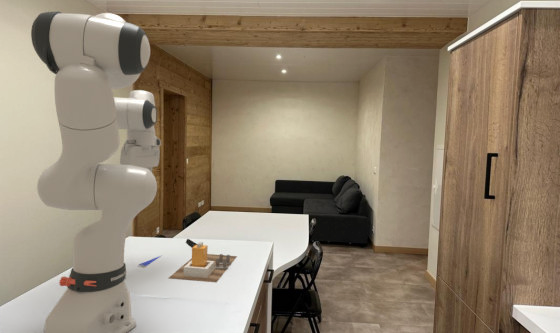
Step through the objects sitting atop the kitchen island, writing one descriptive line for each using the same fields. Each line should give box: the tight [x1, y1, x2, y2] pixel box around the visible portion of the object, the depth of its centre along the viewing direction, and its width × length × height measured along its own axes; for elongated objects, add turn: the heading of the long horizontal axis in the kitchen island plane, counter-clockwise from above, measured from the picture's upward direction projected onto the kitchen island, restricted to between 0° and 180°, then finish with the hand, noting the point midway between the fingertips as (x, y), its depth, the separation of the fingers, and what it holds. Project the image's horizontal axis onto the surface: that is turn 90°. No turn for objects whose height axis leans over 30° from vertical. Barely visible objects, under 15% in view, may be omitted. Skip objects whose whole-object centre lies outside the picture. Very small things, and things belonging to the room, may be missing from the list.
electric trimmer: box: [185, 238, 198, 248], centre depth 156 cm, size 4×16×3 cm, turn 33°
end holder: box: [183, 260, 215, 278], centre depth 124 cm, size 8×8×3 cm
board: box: [168, 253, 238, 283], centre depth 131 cm, size 28×16×5 cm, turn 173°
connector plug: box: [191, 241, 209, 267], centre depth 124 cm, size 4×4×10 cm
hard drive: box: [137, 255, 162, 269], centre depth 136 cm, size 2×8×12 cm
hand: (140, 181), depth 124 cm, fingers open, 8 cm apart
